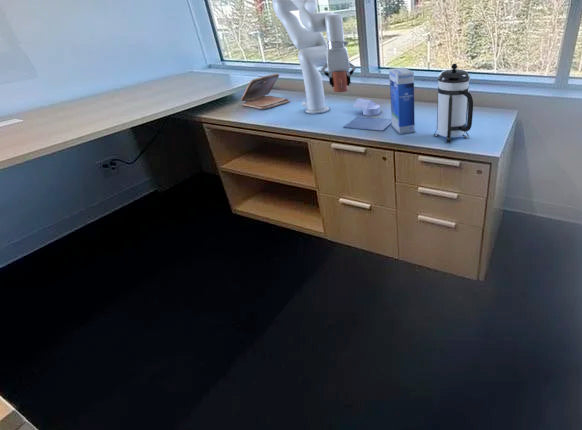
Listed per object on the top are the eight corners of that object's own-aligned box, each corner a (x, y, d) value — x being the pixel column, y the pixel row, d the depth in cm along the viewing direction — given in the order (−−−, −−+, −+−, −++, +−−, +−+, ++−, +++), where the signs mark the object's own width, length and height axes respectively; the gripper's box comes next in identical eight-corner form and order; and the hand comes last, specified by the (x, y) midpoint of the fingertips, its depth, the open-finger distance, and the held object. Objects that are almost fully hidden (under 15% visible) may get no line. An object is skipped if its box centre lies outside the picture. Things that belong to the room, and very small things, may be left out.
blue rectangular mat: (343, 127, 180) (343, 127, 180) (357, 117, 193) (357, 116, 192) (382, 131, 174) (382, 130, 174) (394, 120, 186) (394, 119, 186)
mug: (333, 89, 183) (331, 69, 178) (347, 88, 184) (345, 68, 179) (334, 94, 174) (331, 73, 170) (349, 93, 175) (347, 72, 171)
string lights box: (415, 132, 171) (414, 72, 157) (399, 134, 169) (397, 74, 155) (406, 123, 181) (404, 66, 168) (390, 125, 180) (388, 68, 166)
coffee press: (429, 141, 160) (430, 67, 144) (438, 129, 172) (440, 59, 157) (469, 146, 154) (475, 68, 138) (477, 133, 167) (483, 60, 151)
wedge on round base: (353, 113, 199) (373, 116, 193) (352, 100, 195) (372, 103, 189) (363, 108, 205) (383, 111, 199) (362, 96, 202) (382, 98, 196)
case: (269, 97, 233) (263, 70, 225) (291, 101, 223) (286, 73, 214) (240, 105, 220) (233, 77, 211) (263, 110, 209) (256, 80, 200)
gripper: (354, 42, 174) (358, 82, 183) (316, 44, 171) (321, 85, 181) (356, 45, 168) (359, 86, 177) (316, 47, 165) (322, 89, 175)
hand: (340, 85), depth 179 cm, fingers closed on mug, 7 cm apart
